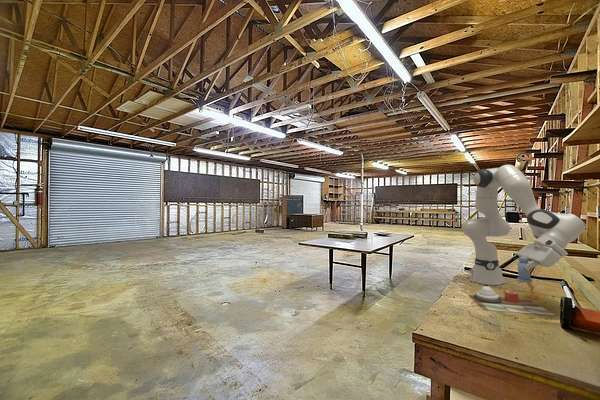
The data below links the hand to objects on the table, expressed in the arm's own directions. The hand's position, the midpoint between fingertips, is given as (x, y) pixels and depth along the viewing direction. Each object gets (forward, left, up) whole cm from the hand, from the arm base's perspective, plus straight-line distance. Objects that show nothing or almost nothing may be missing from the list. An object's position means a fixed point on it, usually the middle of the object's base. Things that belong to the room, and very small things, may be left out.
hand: (522, 267), depth 117 cm
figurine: (-19, +12, -20) cm, 30 cm away
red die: (-11, 0, -18) cm, 21 cm away
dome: (-11, -10, -17) cm, 23 cm away
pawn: (0, +1, -6) cm, 6 cm away
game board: (-6, -4, -20) cm, 21 cm away
